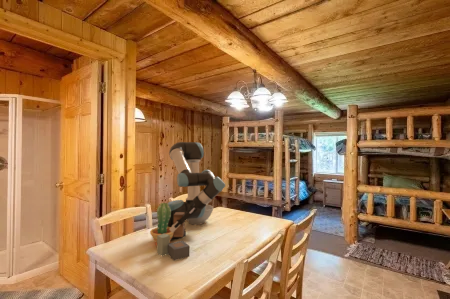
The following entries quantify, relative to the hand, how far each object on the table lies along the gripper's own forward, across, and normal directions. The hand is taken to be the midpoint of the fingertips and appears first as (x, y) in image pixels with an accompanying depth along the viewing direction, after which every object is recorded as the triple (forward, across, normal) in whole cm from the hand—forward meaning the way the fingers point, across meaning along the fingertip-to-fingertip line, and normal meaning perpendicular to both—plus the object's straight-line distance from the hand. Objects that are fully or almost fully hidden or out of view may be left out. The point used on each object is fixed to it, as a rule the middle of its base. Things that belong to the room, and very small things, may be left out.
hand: (172, 229), depth 130 cm
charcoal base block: (+8, 0, -13) cm, 15 cm away
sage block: (+14, +3, -6) cm, 16 cm away
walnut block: (0, 0, -5) cm, 5 cm away
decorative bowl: (+7, +60, -14) cm, 62 cm away
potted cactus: (+17, +16, -3) cm, 24 cm away
